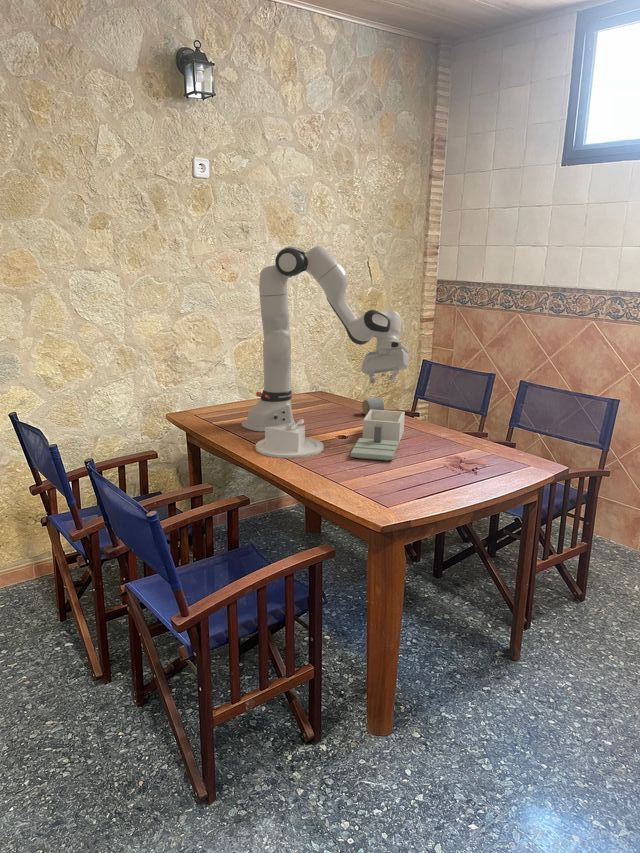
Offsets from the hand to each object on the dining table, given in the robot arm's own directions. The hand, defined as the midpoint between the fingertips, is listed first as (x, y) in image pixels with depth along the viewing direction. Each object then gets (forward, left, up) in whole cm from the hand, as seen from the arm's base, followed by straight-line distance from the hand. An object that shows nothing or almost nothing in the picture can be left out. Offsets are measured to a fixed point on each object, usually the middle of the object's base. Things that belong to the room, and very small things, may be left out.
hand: (381, 381), depth 246 cm
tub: (-1, -3, -21) cm, 21 cm away
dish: (-40, +8, -22) cm, 46 cm away
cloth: (-7, -47, -22) cm, 52 cm away
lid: (-20, -16, -22) cm, 33 cm away
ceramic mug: (+21, +22, -21) cm, 37 cm away
